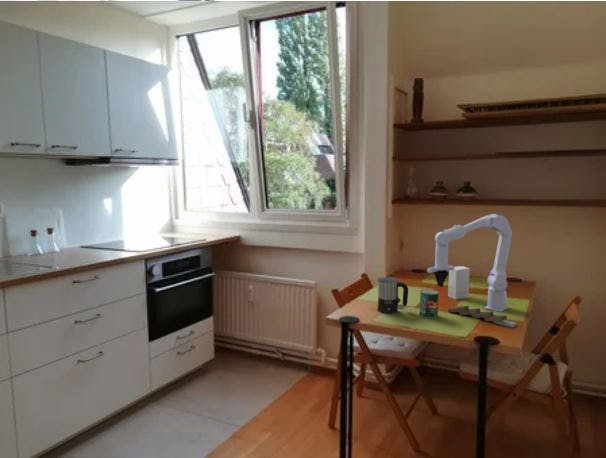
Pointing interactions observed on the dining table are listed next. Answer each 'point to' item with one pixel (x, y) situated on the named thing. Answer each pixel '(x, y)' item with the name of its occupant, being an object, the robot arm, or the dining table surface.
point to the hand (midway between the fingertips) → (440, 286)
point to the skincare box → (459, 283)
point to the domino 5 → (505, 323)
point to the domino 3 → (483, 314)
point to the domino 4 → (496, 318)
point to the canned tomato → (429, 303)
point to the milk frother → (390, 294)
